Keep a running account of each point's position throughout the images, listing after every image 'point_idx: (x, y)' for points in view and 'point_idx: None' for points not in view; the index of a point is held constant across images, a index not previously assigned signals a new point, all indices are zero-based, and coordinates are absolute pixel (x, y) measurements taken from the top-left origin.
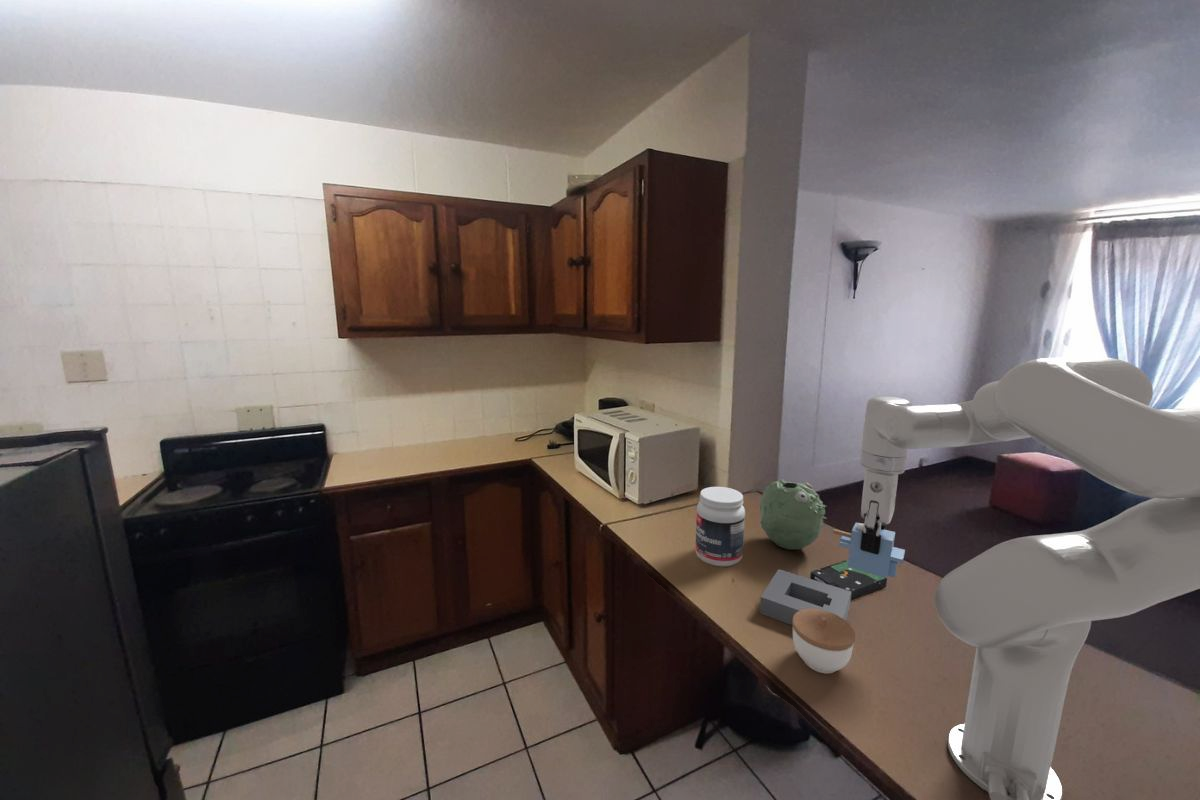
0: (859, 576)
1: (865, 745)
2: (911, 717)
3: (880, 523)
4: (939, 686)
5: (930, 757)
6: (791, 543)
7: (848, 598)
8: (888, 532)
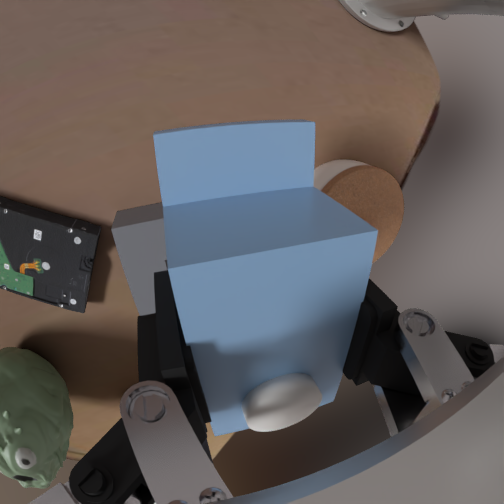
0: (14, 242)
1: (421, 117)
2: (360, 65)
3: (473, 380)
4: (264, 23)
5: (403, 53)
6: (51, 371)
7: (147, 222)
8: (225, 304)
